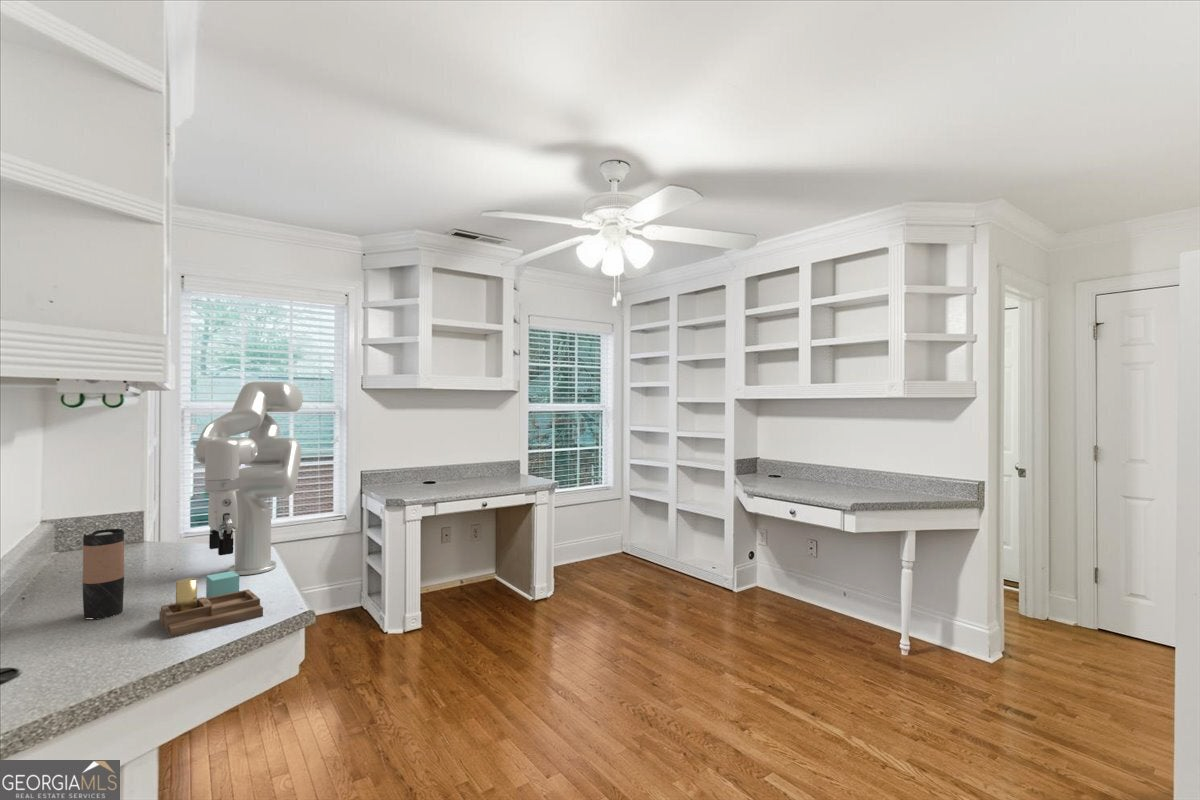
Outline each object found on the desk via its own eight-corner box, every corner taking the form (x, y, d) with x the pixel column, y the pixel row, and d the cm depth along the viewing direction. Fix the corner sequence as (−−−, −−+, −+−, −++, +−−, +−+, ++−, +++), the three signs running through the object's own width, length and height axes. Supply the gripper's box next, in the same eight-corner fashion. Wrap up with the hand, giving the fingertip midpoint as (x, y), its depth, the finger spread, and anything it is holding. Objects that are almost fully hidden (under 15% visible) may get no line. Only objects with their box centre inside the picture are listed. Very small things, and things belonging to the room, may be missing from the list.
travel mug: (125, 614, 138) (125, 532, 138) (83, 623, 133) (83, 537, 133) (122, 606, 143) (122, 527, 143) (81, 614, 138) (82, 532, 138)
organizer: (158, 619, 135) (158, 602, 135) (245, 600, 148) (246, 585, 148) (169, 638, 124) (169, 619, 124) (262, 615, 137) (263, 599, 137)
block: (206, 598, 150) (206, 575, 150) (232, 592, 154) (232, 570, 154) (212, 604, 145) (212, 580, 146) (239, 598, 150) (239, 575, 150)
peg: (174, 614, 133) (174, 580, 133) (194, 610, 135) (195, 576, 135) (177, 619, 130) (177, 584, 130) (198, 614, 133) (198, 580, 133)
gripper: (247, 487, 146) (246, 554, 145) (230, 482, 158) (229, 544, 158) (212, 490, 141) (211, 559, 140) (197, 484, 153) (196, 548, 152)
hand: (221, 551), depth 149 cm, fingers open, 9 cm apart
